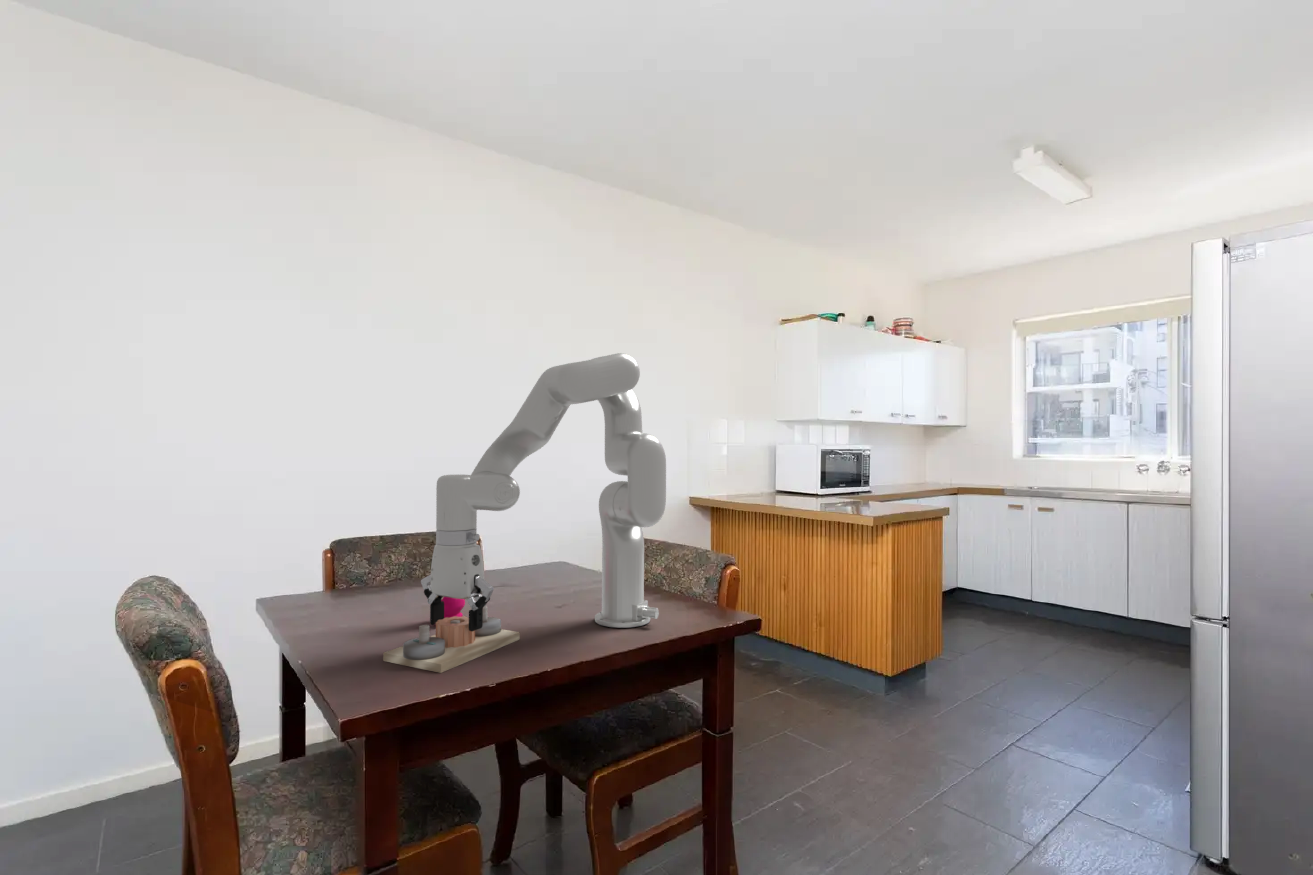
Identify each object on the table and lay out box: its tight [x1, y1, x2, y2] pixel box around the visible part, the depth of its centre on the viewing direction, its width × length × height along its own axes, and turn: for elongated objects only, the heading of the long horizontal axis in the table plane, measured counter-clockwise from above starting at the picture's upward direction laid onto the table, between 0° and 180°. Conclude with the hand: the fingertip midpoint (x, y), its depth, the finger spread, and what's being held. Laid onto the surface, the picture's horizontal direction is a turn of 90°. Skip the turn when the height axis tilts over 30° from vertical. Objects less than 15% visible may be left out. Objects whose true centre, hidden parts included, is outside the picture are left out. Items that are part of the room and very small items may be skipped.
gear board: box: [382, 605, 521, 674], centre depth 127 cm, size 14×23×6 cm, turn 154°
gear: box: [435, 615, 475, 648], centre depth 127 cm, size 7×7×4 cm
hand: (456, 626), depth 127 cm, fingers open, 9 cm apart
